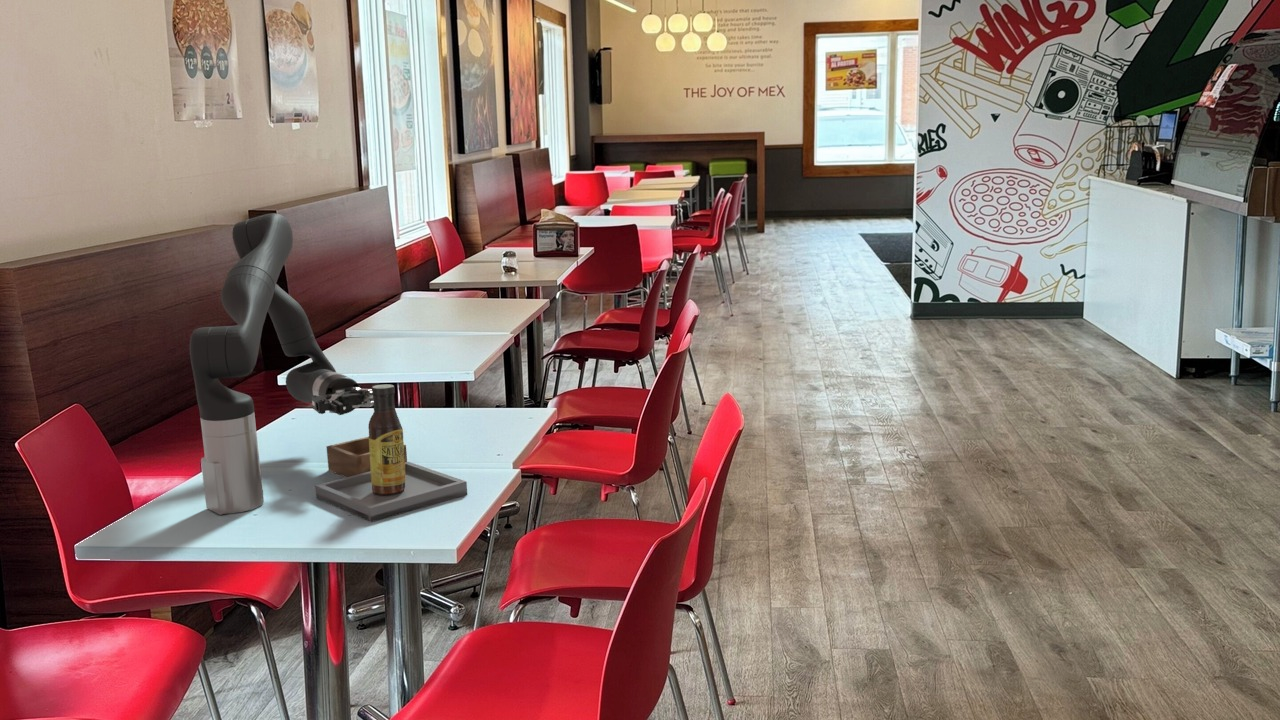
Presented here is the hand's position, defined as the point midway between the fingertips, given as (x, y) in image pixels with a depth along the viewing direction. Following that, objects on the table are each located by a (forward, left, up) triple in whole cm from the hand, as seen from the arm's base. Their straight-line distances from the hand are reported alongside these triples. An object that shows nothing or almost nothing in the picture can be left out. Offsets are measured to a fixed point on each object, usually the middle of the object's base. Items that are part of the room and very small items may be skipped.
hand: (363, 406), depth 217 cm
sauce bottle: (-2, -11, -14) cm, 18 cm away
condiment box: (+4, +8, -15) cm, 17 cm away
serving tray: (-2, -11, -15) cm, 19 cm away
